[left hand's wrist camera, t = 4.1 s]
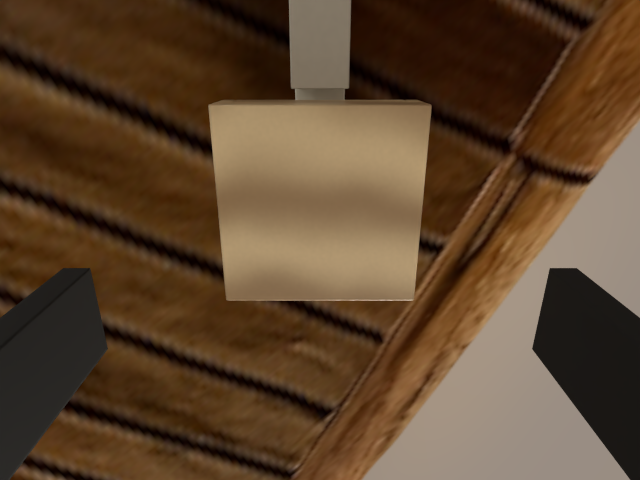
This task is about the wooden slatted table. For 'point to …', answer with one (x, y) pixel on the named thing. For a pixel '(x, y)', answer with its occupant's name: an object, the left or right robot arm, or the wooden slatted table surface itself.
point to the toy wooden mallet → (319, 48)
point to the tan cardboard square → (320, 197)
